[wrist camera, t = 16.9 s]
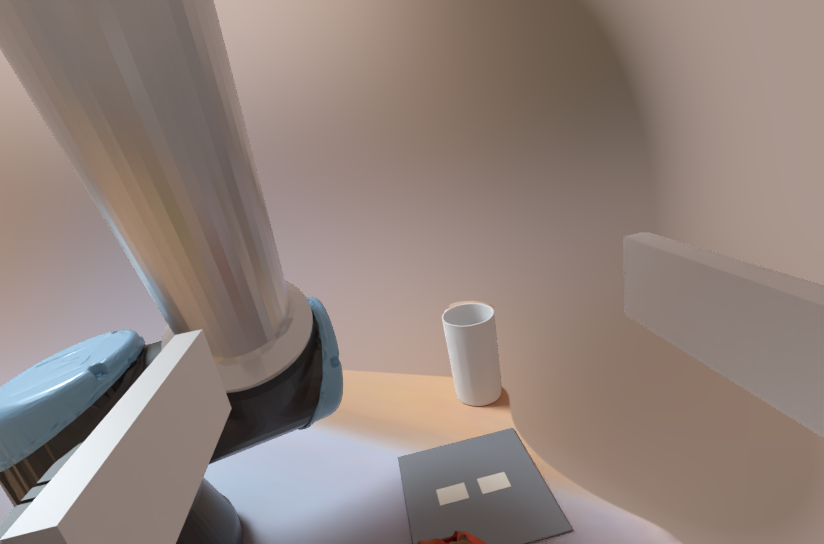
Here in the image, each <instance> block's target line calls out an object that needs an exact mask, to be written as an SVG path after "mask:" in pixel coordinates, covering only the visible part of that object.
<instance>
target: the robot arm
mask: <svg viewBox="0 0 824 544" xmlns="http://www.w3.org/2000/svg"><path fill="white" fill-rule="evenodd" d="M0 49H1V51H2V52H3V54H4V56H5V57H6V59H7V60H8V62H9V64H10V65H11V67H12V69H13V70H14V72H15V74H16V75H17V77H18V78H19V80H20V82H21V83H22V85H23V87H24V88H25V90H26V91H27V93H28V95H29V97H30V98H31V100H32V102H33V103H34V105H35V107H36V108H37V110H38V111H39V113H40V115H41V116H42V118H43V120H44V121H45V123H46V125H47V126H48V128H49V130H50V131H51V133H52V134H53V136H54V138H55V139H56V141H57V142H58V144H59V146H60V148H61V149H62V151H63V152H64V154H65V156H66V157H67V159H68V161H69V162H70V164H71V166H72V167H73V169H74V170H75V172H76V174H77V176H78V177H79V179H80V181H81V182H82V184H83V185H84V187H85V189H86V190H87V192H88V194H89V195H90V197H91V199H92V200H93V202H94V203H95V205H96V207H97V208H98V210H99V212H100V213H101V215H102V217H103V218H104V220H105V222H106V223H107V225H108V226H109V228H110V230H111V232H112V233H113V235H114V236H115V238H116V240H117V241H118V243H119V244H120V246H121V248H122V250H123V251H124V253H125V254H126V256H127V258H128V259H129V261H130V263H131V264H132V266H133V267H134V269H135V271H136V273H137V274H138V276H139V278H140V279H141V281H142V283H143V284H144V286H145V287H146V289H147V291H148V292H149V294H150V296H151V297H152V299H153V300H154V302H155V304H156V305H157V307H158V309H159V310H160V312H161V314H162V315H163V317H164V318H165V320H166V322H167V325H166V327H165V330H164V333H163V337H162V341H159V342H156V343H153V344H149V345H145V341H144V339H143V337H141V336H139V335H138V334H137V333H136V332H135V331H132V330H122V331H119V332H118V331H113V332H109V333H106V334H102V335H99V336H96V337H93V338H91V339H88V340H85V341H83V342H80V343H78V344H76V345H74V346H71V347H69V348H67V349H65V350H63V351H60V352H58V353H56V354H55V355H52V356H50V357H48V358H46V359H45V360H43V361H41V362H39V363H37V364H36V365H34V366H32V367H30V368H29V369H27V370H25V371H24V372H22V373H20V374H19V375H17V376H16V377H14V378H13V379H11V380H10V381H8V382H7V383H6V384H4V385H3V386H2V387H0V485H1V487H2V488H3V490H4V491H5V493H6V494H7V496H8V497H9V499H10V501H11V502H12V504H13V505H14V507H15V508H14V509H13V510H12V511H11V512H10V513H9V515H8V516H7V517H6V518H5V519H4V520H3V521H2V522H1V523H0V544H242V543H243V530H242V526H241V523H240V520H239V518H238V516H237V513H236V511H235V508H234V507H233V505H232V503H231V502H230V501H229V500H228V499H227V498H226V497H225V496H223V495H222V494H220V493H219V492H218V491H217V490H216V489H215V488H214V487H213V486H212V485H211V484H210V483H209V482H208V481H207V480H206V479H205V478H203V477H204V474H205V472H206V469H207V467H208V465H209V464H211V463H214V462H216V461H219V460H221V459H224V458H226V457H229V456H231V455H234V454H236V453H239V452H241V451H244V450H246V449H249V448H251V447H254V446H256V445H259V444H261V443H264V442H266V441H269V440H271V439H274V438H277V437H279V436H282V435H284V434H287V433H289V432H292V431H294V430H297V429H300V430H301V429H305V428H308V427H310V426H311V425H312V424H313V423H314V422H316V421H318V420H320V419H322V418H325V417H327V416H329V415H331V414H332V413H333V412H335V411H336V409H337V408H338V407H339V405H340V403H341V400H342V395H343V373H342V366H341V363H340V361H339V359H338V357H339V350H338V345H337V340H336V337H335V333H334V330H333V327H332V324H331V321H330V318H329V316H328V314H327V312H326V309H325V308H324V306H323V304H322V303H321V302H320V301H319V300H318V299H317V298H314V297H305V295H304V294H303V293H302V292H301V291H300V289H298V288H297V287H295V286H294V285H293V284H291V283H290V282H288V281H286V280H285V279H284V276H283V272H282V268H281V264H280V260H279V256H278V252H277V248H276V244H275V240H274V236H273V232H272V228H271V224H270V220H269V217H268V213H267V208H266V205H265V201H264V197H263V193H262V189H261V185H260V181H259V177H258V173H257V169H256V165H255V162H254V158H253V153H252V150H251V146H250V142H249V138H248V134H247V130H246V126H245V122H244V118H243V114H242V110H241V106H240V103H239V99H238V95H237V91H236V87H235V83H234V79H233V75H232V71H231V67H230V63H229V59H228V55H227V51H226V47H225V44H224V40H223V36H222V32H221V28H220V24H219V20H218V16H217V13H216V8H215V4H214V0H0ZM623 240H624V304H625V305H624V306H625V315H626V316H628V317H629V318H631V319H632V320H634V321H636V322H637V323H639V324H641V325H642V326H644V327H645V328H647V329H649V330H650V331H652V332H653V333H655V334H657V335H658V336H660V337H662V338H663V339H665V340H666V341H668V342H669V343H671V344H673V345H674V346H676V347H678V348H679V349H681V350H682V351H684V352H686V353H687V354H689V355H690V356H692V357H694V358H695V359H697V360H698V361H700V362H702V363H703V364H705V365H707V366H708V367H710V368H711V369H713V370H715V371H716V372H718V373H720V374H721V375H723V376H724V377H726V378H727V379H729V380H731V381H732V382H734V383H736V384H737V385H739V386H740V387H742V388H744V389H745V390H747V391H749V392H750V393H752V394H753V395H755V396H757V397H758V398H760V399H761V400H763V401H765V402H766V403H768V404H769V405H771V406H773V407H774V408H776V409H778V410H779V411H781V412H782V413H784V414H786V415H787V416H789V417H790V418H792V419H794V420H795V421H797V422H799V423H800V424H802V425H803V426H805V427H806V428H808V429H810V430H811V431H813V432H815V433H816V434H818V435H820V436H821V437H823V438H824V286H823V285H820V284H817V283H814V282H810V281H807V280H804V279H800V278H797V277H794V276H790V275H787V274H784V273H780V272H777V271H774V270H771V269H767V268H764V267H761V266H757V265H754V264H751V263H748V262H744V261H741V260H738V259H734V258H731V257H728V256H724V255H721V254H718V253H715V252H711V251H708V250H704V249H701V248H698V247H695V246H692V245H688V244H685V243H681V242H678V241H675V240H672V239H668V238H665V237H662V236H659V235H655V234H652V233H648V232H642V233H637V234H633V235H628V236H624V237H623Z"/></svg>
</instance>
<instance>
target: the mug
mask: <svg viewBox="0 0 824 544" xmlns="http://www.w3.org/2000/svg"><path fill="white" fill-rule="evenodd" d="M442 320H443V326H444V333H445V338H446V343H447V348H448V353H449V358H450V364H451V369H452V374H453V379H454V384H455V389H456V394H457V397H458V399H459V400H460V401H461V402H463V403H464V404H467V405H470V406H484V405H488V404H491V403H493V402H495V401H496V400H497V399H498V398H499V397H500V396H501V393H502V386H501V375H500V366H499V355H498V345H497V336H496V325H495V317H494V310H493V308H492V307H490V306H488V305H485V304H480V303H467V304H461V305H457V306H454V307H452V308H450V309H447V310H445V312H444V314H443V315H442Z"/></svg>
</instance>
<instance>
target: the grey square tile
mask: <svg viewBox="0 0 824 544" xmlns="http://www.w3.org/2000/svg"><path fill="white" fill-rule="evenodd" d="M398 461H399V467H400V472H401V478H402V484H403V490H404V495H405V501H406V507H407V513H408V518H409V524H410V530H411V536H412V541H413V544H418V543H417V542H419V541H420V540H428V539H429V540H431V539H434V538H437V539H443V538H445V537H450V536H452V535H453V534H454V532H455V531H466V532H469V533H470V534H472V535H474V536H476V537H477V538H479V539H480V540H482V541H484V542H486V543H487V544H528V543H531V542H535V541H538V540H542V539H545V538H549V537H552V536H556V535H559V534H563V533H566V532H570V531H573V530H572V528H571V526H570V524H569V523H568V521H567V519H566V518H565V516H564V514H563V513H562V511H561V509H560V507H559V506H558V504H557V502H556V501H555V499H554V497H553V496H552V494H551V492H550V490H549V489H548V487H547V485H546V484H545V482H544V480H543V479H542V477H541V475H540V474H539V472H538V470H537V468H536V467H535V465H534V463H533V462H532V460H531V458H530V457H529V455H528V453H527V451H526V450H525V448H524V446H523V445H522V443H521V441H520V440H519V438H518V436H517V435H516V433H515V431H514V429H513V428H510V429H506V430H502V431H498V432H495V433H491V434H487V435H483V436H479V437H475V438H471V439H467V440H464V441H460V442H456V443H452V444H448V445H444V446H440V447H436V448H433V449H429V450H425V451H421V452H417V453H413V454H409V455H406V456H402V457H398Z"/></svg>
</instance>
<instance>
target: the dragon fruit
mask: <svg viewBox="0 0 824 544" xmlns="http://www.w3.org/2000/svg"><path fill="white" fill-rule="evenodd" d="M417 543H418V544H487V543H486V542H484V541H482V540H480V539H479V538H477V537H476V536H474V535H472V534H470V533H469V532H466V531H455V532H454V534H453V535H452V536H450V537H445V538H443V539H437V538H434V539H431V540H429V539H428V540H420V541H419V542H417Z"/></svg>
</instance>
